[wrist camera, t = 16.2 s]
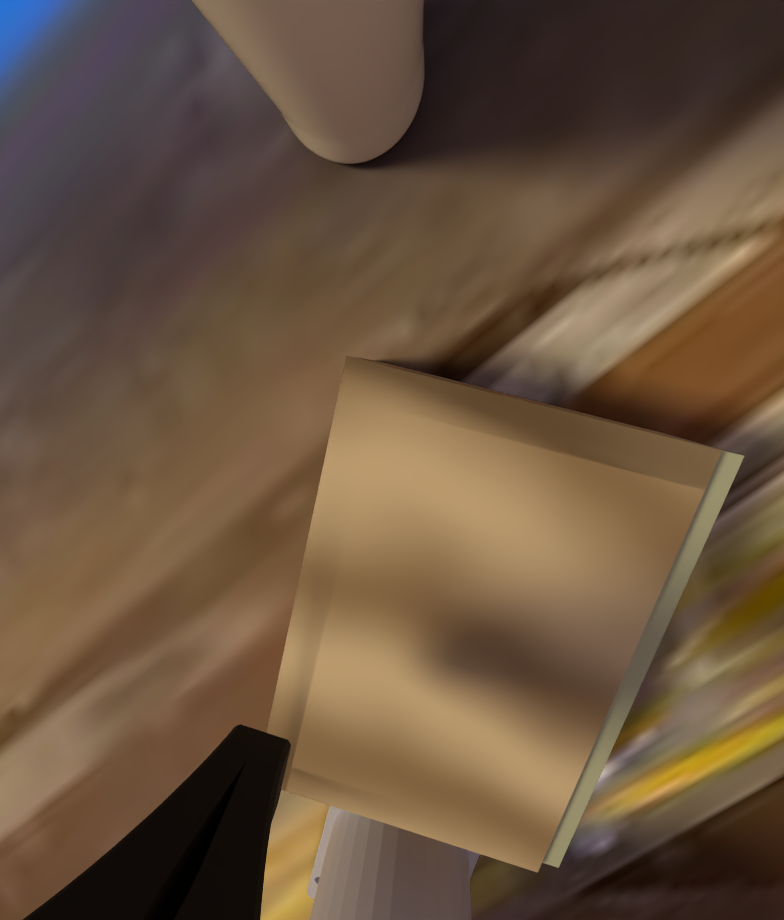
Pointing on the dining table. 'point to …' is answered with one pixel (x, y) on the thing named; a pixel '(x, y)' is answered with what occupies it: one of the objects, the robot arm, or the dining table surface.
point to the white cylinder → (331, 67)
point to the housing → (472, 603)
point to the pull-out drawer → (646, 648)
